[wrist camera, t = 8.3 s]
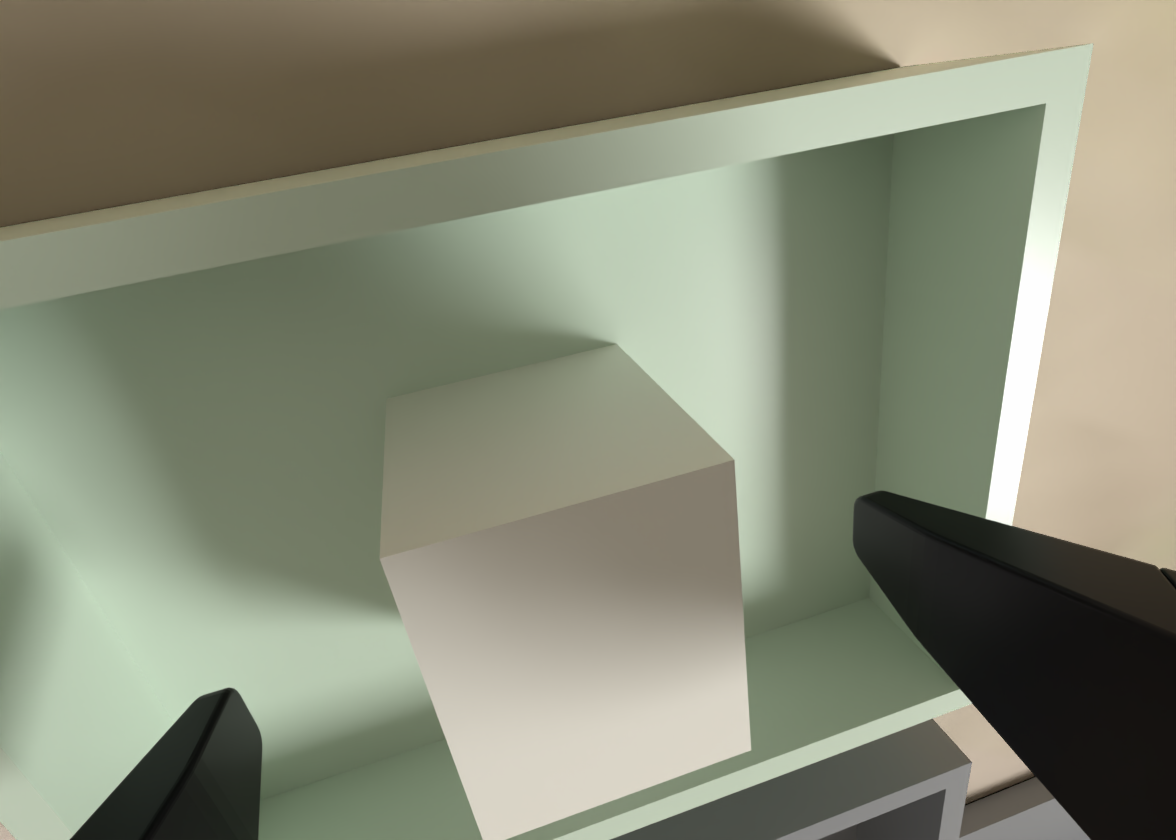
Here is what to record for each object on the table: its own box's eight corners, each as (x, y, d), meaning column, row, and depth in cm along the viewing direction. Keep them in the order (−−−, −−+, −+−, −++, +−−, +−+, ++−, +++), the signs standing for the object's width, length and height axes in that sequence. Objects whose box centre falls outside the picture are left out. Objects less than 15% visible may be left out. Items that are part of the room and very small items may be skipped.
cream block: (457, 625, 13) (485, 846, 9) (386, 398, 11) (379, 558, 7) (647, 568, 14) (751, 750, 10) (616, 343, 11) (734, 459, 7)
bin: (217, 811, 14) (166, 1005, 11) (-147, 253, 9) (-447, 322, 6) (874, 593, 17) (982, 700, 14) (903, 67, 11) (1093, 43, 8)
